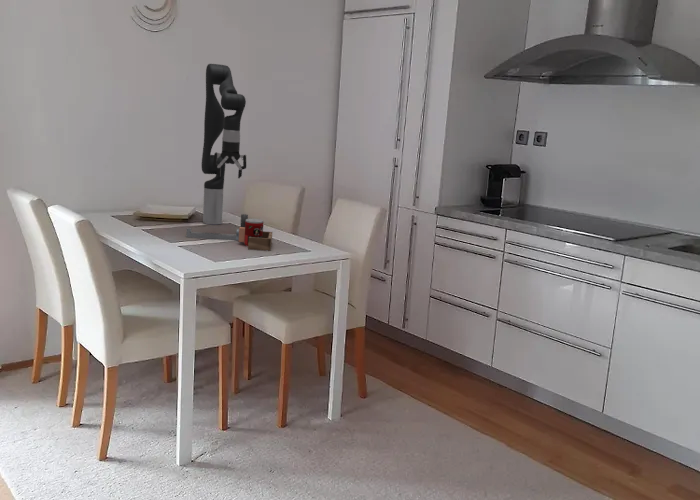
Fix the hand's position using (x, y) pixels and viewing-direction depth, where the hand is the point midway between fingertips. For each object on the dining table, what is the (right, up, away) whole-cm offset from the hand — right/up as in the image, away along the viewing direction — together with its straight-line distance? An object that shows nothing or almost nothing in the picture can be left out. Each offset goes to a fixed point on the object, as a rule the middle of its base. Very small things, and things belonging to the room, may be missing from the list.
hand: (229, 177), depth 293 cm
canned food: (+12, -30, -8) cm, 34 cm away
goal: (+15, -30, -9) cm, 35 cm away
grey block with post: (+6, -28, -4) cm, 29 cm away
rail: (-3, -27, -1) cm, 27 cm away
